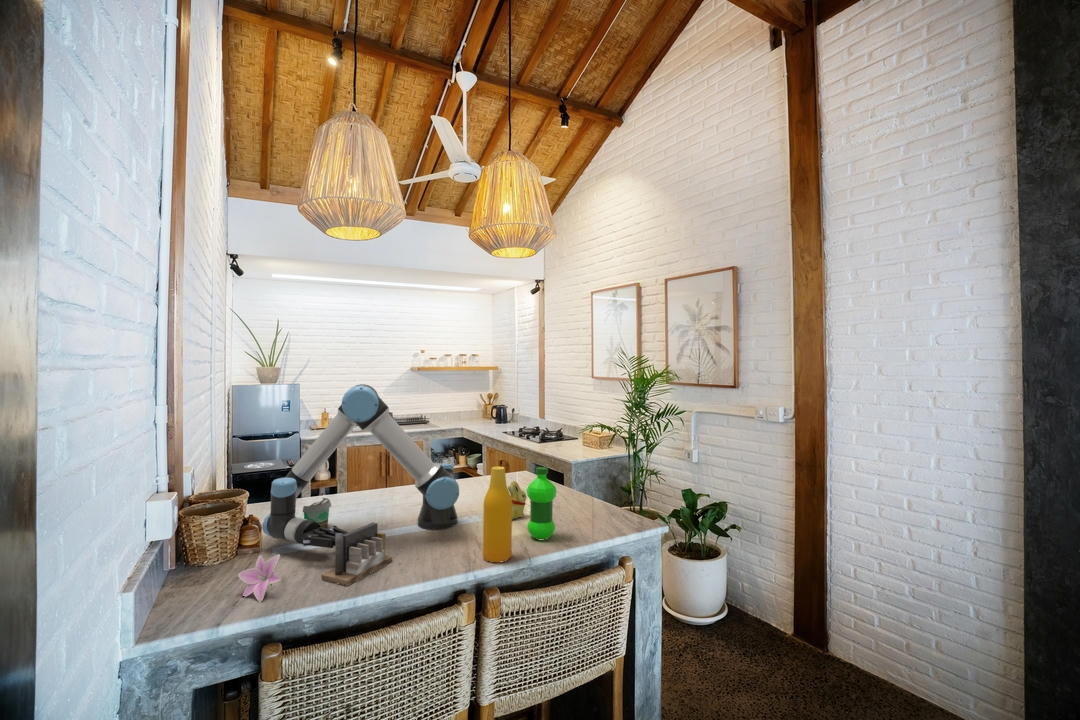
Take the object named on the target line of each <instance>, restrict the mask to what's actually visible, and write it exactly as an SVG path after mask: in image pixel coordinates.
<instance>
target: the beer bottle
mask: <svg viewBox="0 0 1080 720" xmlns="http://www.w3.org/2000/svg"><path fill="white" fill-rule="evenodd" d="M489 481H490V482H489V487H488V490H487V491H486V493H485V496H484V498H483V530H482V531H483V533H482V535H483V536H482V537H483V541H482V544H483V545H482V557H483V560H484V561H486V560H487V561H486V562H488V561H491V562H490V563H492V562H500V561H505V560H507V559H509V558H510V557H512V552H513V551H512V549H513V547H512V542H513V541H512V537H513V536H512V531H513V530H512V526H513V525H512V523H513V519H512V499H511V494H510V492H509V490H508V486H507V477H506V468H505V467H504V466H493V467H491V473H490V480H489ZM510 559H511V558H510ZM510 559H509V560H510ZM505 562H506V561H505Z"/></svg>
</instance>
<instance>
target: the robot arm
mask: <svg viewBox="0 0 1080 720" xmlns="http://www.w3.org/2000/svg"><path fill="white" fill-rule="evenodd" d="M342 396H343V397H342V399H341V404H340V405H339V407H338V408H337V413H336V415H335V416H334V417H333V418H332V420H331V421H330V422H329V423H328V424H327V426H326V427H325V428H324V430H322V432H321V433H320V434H319V435H318V437H317V438H316V439H315V440H314V442H312V444H311V445H310V446H309V448H307V450H306V451H305V452H304V453H303V455H302V456H300V459H299V460H298V461H297V462H296V463H295V465H294V466H293V467H292V468H291V470H289V472H288V473H287V474H286V476H284V477H280V478H276V479H274V480H273V481H271V489H270V511H269V512H270V513H269V514H268V515H267V516H266V517H264V520H263V523H262V526H261V528H262V532H263V533H264V534H265V535H266V536H269V537H272V538H274V539H279V540H285V541H287V542H288V541H289V542H293V543H295V544H300V545H302V546H304V547H307V546H311V547H319V548H327V549H333V548H335V534H337V533H343V534H346V533H348V532H349V531H347V530H344V529H341V528H339V527H338V526H336V525H333V526H332V527H331V528H328V527H327V528H325V527H321V526H320V525H319V523H318V522H316V521H311V520H307V519H304V517H303V518H302V517H297V516H296V511H297V509H296V507H297V505H296V504H297V498H298V497H299V495H300V494H301V492H302V491H303V490H304V489H305V487H306V486H307V485H308V484H309V482H310V481H311V480H312V479H313V478H314V476H316V473H318V472H319V470H320V469H321V468H322V467H323V466H324V464H325V463H326V461H328V459H329V458H330V457H331V455H333V453H334V452H335V451H336V449H337V448H338V447H339V445H340V444H342V442H343V441H344V440H345V438H346V437H347V436H348V435H349V433H351V431H352V430H353V429H354V428H355V426H358V427H359V429H361V431H364V432H365V431H367V432H369V433H370V434H372V435H373V437H375V439H376V440H377V441H378V442H379V443H380V444H381V445H382V446H383V447H384V448H385V449H386V450H387V452H388V453H389V454H390V455H391V456H392V457H393V458H394V459H395V460H396V461H397V462H398V464H399V465H400V466H402V468H403V470H405V471H406V472H407V473H408V474H409V475H410V476H411V478H413V479H414V481H415V482H414V484H415V485H414V486H415V488H416V489H417V490H418V491H419V492H420V493H421V494H422V504H421V505H422V506H421V508H420V511H419V515H418V516H417V526H418V527H419V528H422V529H426V530H444V529H450V528H452V527H455V526H456V525H457V524H458V522H459V521H458V518H459V517H458V513H457V511H456V507H455V504H456V503H457V501H458V499H459V495H460V486H459V483H458V481H456V479H455V477H454V473H455V469H454V464H453V463H446V462H445V463H444V462H442V463H440V462H437V463H436V462H433V460H431V458H430V457H429V456H428V455H427V454H426V453H425V452H424V451H423V450H422V449H421V447H420V446H418V444H417V443H416V442H415V441H414V440H413V438H411V436H410V435H409V434H408V433H407V432H406V431H405V430H404V429H403V428H402V427H401V425H399V424H398V422H397V421H396V420H395V419H394V418H393V417H392V416H391V415H390V413H389V412H390V408H389V406H388V405H387V404H386V402H385V401H383V400H382V398H381V397H380V396H379V394H378V392H377V390H376V389H375V388H374V387H372V385H368V384H364V383H363V384H361V383H360V384H356V385H354V386H352V387H351V388H350V389H348V390H347V391H346V392H345V393H344V395H342ZM454 525H455V526H454ZM449 527H450V528H449Z"/></svg>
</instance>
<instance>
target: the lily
mask: <svg viewBox="0 0 1080 720" xmlns="http://www.w3.org/2000/svg"><path fill="white" fill-rule="evenodd" d="M280 557H281V554H276V555H273V556H272V557H270V558H269V559H268V560H266V561H265V559H264V558H263V556H262V555H261V554H260V555H258V557H257V560H256V562H255V566H254V567H252V568H248V569H247V568H246V569H245V570H242V571H240V572H238V574H237V576H238V578H239V579H240V580H241V581H242V582H244V583H245V584H247V585H246V587H245V589H244V591H243V594H242V596H245V597H244V598H246V597H248V596H249V595H251V594H252V593H253V594H254V597H255V598H256V600H257V601H258V600H262V601H263V599H265V598H264V597H265V594H266V591H267V588H268V585H270V586H273V584H274V583H277V582H280V581H282V577H281V576H279V574H277V573H275V572H274V570H275V567H276V565H277V563H278V561H279V560H280Z"/></svg>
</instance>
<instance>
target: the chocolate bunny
mask: <svg viewBox="0 0 1080 720" xmlns="http://www.w3.org/2000/svg"><path fill="white" fill-rule="evenodd" d="M507 489H508V491H509V493H510V496H511V499H512V520H515V519H514V518H516V519H519V518H518V517H521V518H523V517H524V516H525V513H524V511H525V506H526V500H527V497H528V495H527V494H526V493H527V492H525V490H523V489H521V487H520V485H519V483H518V482H517V481H516V480H513V481H512V482H511V483H510V484H509V485H508V486H507ZM522 516H523V517H522Z"/></svg>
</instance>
